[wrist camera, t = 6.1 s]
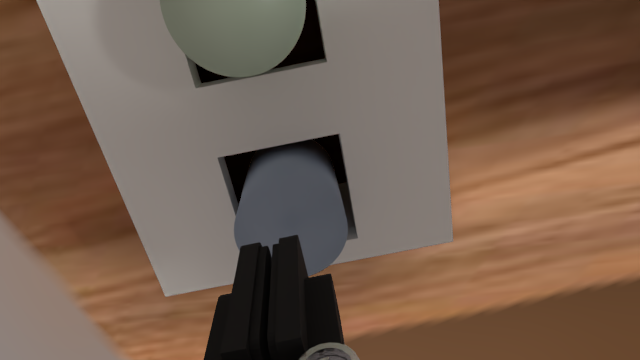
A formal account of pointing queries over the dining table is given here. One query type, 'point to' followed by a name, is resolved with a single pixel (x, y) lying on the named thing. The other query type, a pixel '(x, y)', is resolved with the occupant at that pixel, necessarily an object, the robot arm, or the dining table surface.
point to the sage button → (235, 32)
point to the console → (263, 126)
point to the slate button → (293, 203)
